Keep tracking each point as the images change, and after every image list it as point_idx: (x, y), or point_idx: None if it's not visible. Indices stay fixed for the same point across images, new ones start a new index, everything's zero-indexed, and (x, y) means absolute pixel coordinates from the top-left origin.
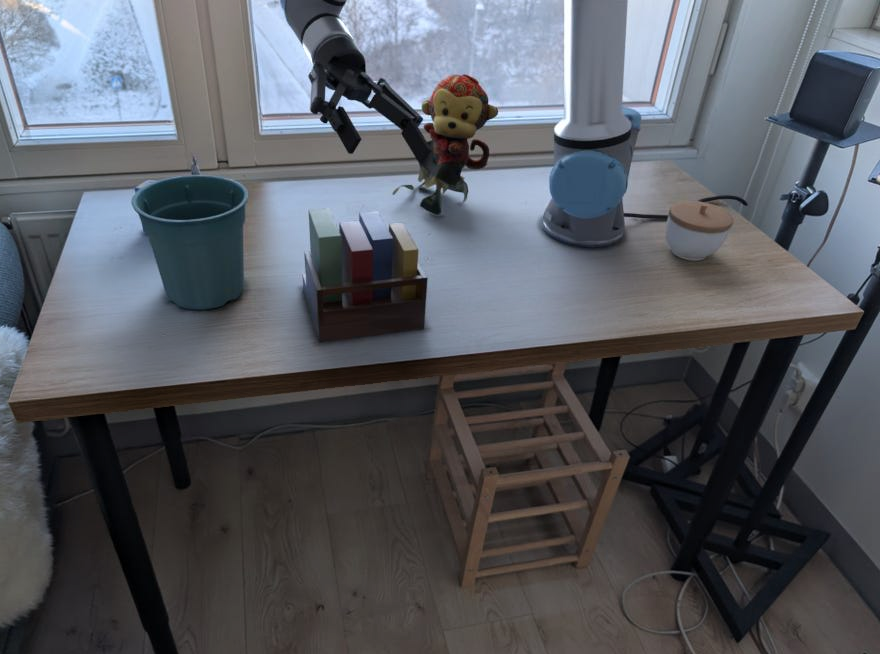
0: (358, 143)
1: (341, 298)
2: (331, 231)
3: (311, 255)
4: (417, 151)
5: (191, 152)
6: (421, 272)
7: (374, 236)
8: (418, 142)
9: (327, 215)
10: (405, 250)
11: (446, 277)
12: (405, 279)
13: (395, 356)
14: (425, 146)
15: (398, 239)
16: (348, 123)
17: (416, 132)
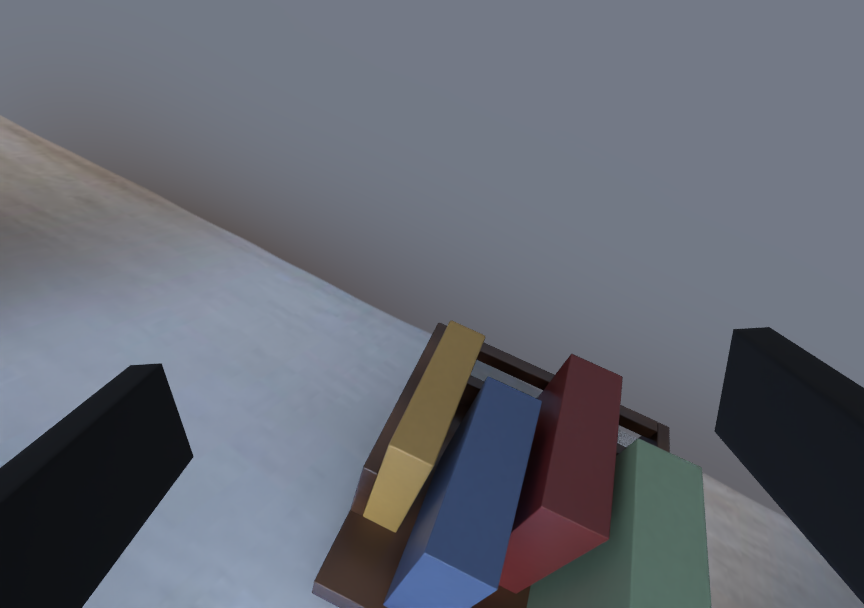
0: (731, 360)
1: None
2: (659, 475)
3: None
4: (145, 475)
5: None
6: (437, 340)
7: (528, 413)
8: (98, 468)
9: (649, 592)
10: (481, 334)
11: (208, 505)
12: (483, 343)
13: (497, 374)
14: (141, 388)
15: (466, 377)
16: None
17: (18, 502)
